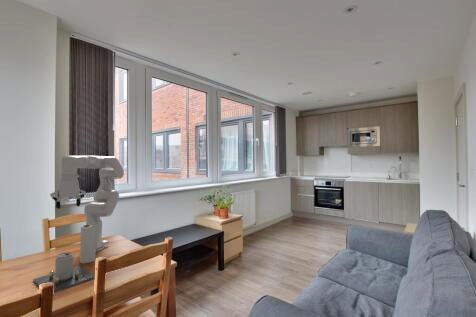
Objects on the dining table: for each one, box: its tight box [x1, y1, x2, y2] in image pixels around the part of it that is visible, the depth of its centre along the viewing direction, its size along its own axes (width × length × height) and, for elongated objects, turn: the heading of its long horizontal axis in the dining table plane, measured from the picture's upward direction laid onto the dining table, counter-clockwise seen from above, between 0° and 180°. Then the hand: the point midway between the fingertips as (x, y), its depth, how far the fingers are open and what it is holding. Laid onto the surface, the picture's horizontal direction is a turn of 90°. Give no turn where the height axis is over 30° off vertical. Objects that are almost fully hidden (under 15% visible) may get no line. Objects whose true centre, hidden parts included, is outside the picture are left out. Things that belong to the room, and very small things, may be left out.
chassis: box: [33, 265, 95, 293], centre depth 125 cm, size 20×20×4 cm
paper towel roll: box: [79, 224, 97, 264], centre depth 146 cm, size 7×6×21 cm
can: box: [54, 251, 75, 281], centre depth 125 cm, size 8×8×12 cm
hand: (68, 207), depth 141 cm, fingers open, 9 cm apart
